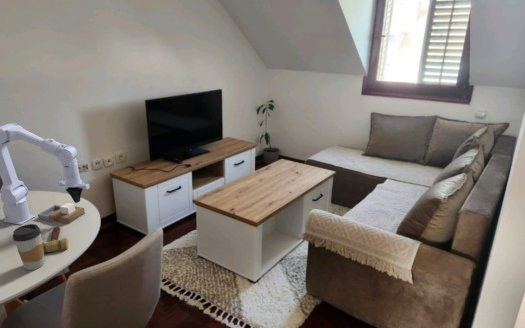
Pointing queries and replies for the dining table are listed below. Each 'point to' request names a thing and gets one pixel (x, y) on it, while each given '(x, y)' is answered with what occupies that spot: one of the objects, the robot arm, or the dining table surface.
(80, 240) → the dining table surface
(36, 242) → the coffee cup
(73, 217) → the board
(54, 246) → the gavel
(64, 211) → the tile block
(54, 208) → the tray
